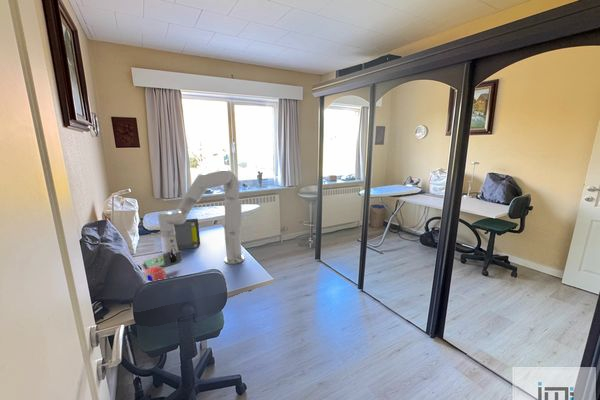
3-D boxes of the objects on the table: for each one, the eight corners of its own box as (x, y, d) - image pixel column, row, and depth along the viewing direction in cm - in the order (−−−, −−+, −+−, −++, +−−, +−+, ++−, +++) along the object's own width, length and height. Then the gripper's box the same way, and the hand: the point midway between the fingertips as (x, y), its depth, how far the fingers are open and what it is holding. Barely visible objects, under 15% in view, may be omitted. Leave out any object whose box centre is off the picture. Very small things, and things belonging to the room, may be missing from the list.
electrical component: (172, 250, 189) (168, 224, 184) (175, 245, 198) (172, 220, 194) (198, 248, 192) (195, 222, 188) (200, 243, 202) (197, 218, 197)
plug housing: (181, 260, 161) (180, 251, 160) (165, 265, 155) (164, 256, 154) (179, 258, 164) (178, 249, 162) (164, 263, 158) (162, 254, 156)
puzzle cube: (166, 280, 148) (164, 267, 146) (153, 287, 141) (151, 274, 139) (156, 277, 151) (154, 265, 149) (143, 284, 144) (141, 271, 142)
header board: (180, 261, 171) (179, 255, 170) (149, 271, 159) (148, 263, 158) (173, 255, 181) (172, 248, 180) (144, 263, 169) (142, 256, 168)
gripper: (179, 234, 151) (183, 263, 156) (170, 228, 163) (175, 255, 168) (165, 237, 147) (170, 267, 151) (157, 231, 159) (162, 259, 163)
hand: (172, 261), depth 159 cm, fingers closed on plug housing, 3 cm apart
